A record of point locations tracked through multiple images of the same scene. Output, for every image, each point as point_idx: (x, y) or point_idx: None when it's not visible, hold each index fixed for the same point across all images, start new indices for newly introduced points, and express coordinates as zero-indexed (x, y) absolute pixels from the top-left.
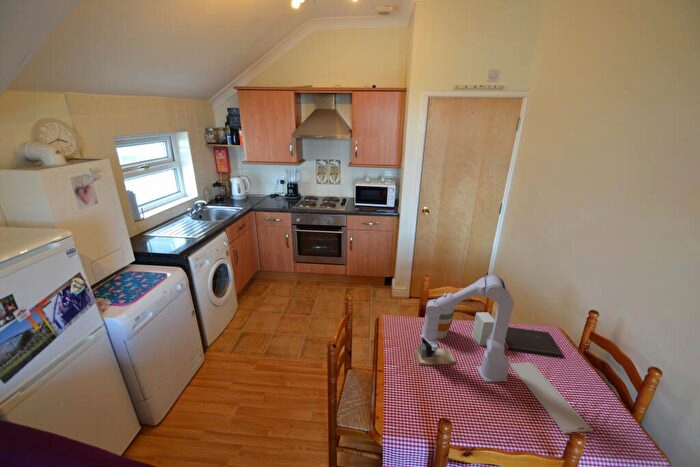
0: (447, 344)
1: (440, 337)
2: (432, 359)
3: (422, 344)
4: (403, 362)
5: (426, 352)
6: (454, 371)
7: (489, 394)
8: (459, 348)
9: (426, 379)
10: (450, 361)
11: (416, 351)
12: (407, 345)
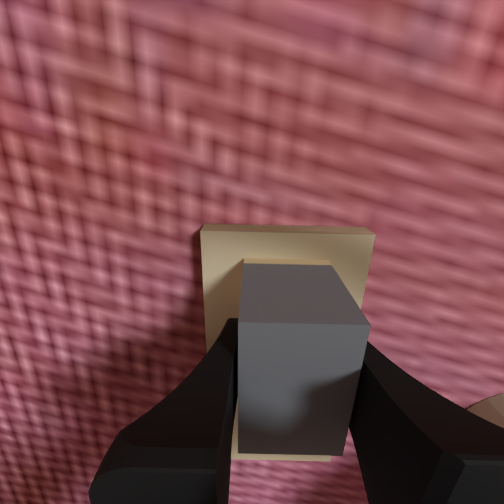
0: None
1: None
2: None
3: (340, 352)
4: (239, 70)
5: (222, 345)
6: None
7: (17, 492)
8: (331, 491)
9: (50, 232)
10: None
11: (345, 244)
12: (460, 185)
